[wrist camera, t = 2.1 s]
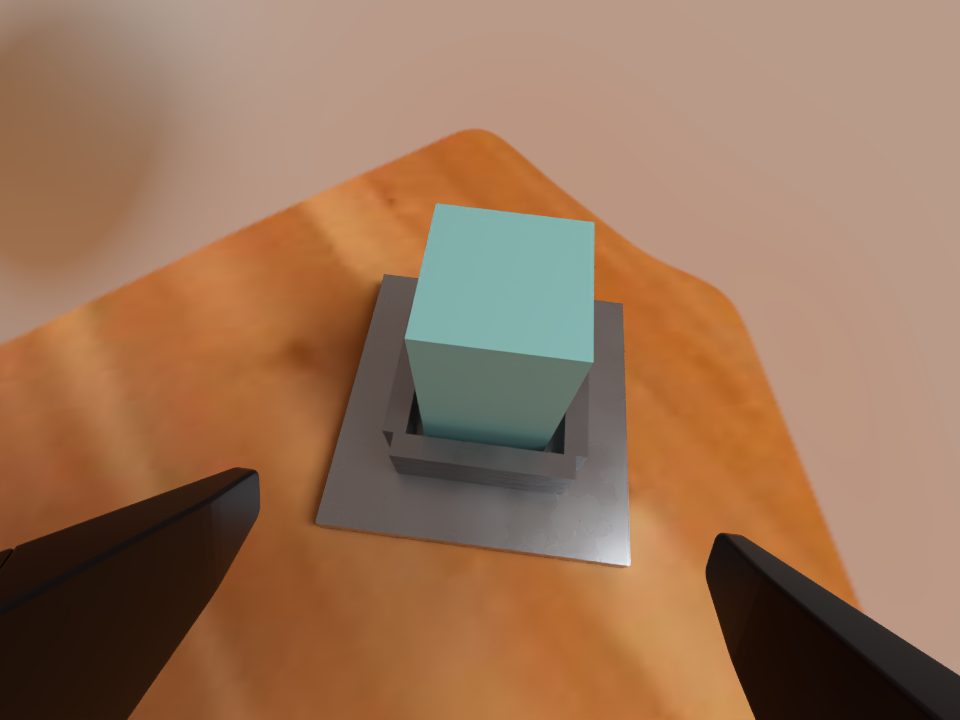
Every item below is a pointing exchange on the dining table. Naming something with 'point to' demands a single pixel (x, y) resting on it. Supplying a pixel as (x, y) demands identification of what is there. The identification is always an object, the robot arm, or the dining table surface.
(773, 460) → the dining table surface
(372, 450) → the socket holder
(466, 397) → the teal block
